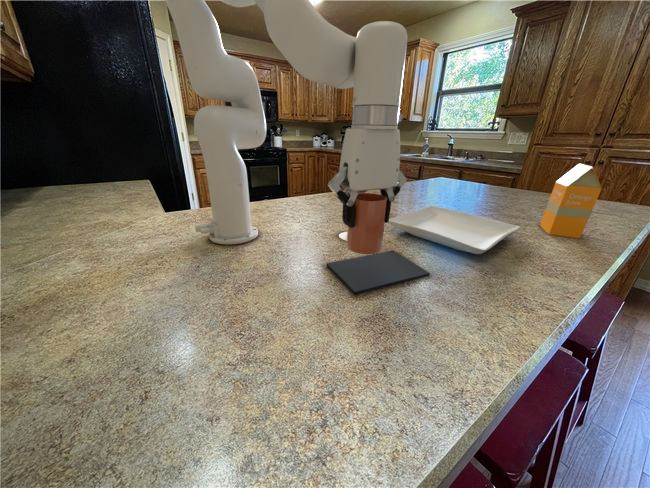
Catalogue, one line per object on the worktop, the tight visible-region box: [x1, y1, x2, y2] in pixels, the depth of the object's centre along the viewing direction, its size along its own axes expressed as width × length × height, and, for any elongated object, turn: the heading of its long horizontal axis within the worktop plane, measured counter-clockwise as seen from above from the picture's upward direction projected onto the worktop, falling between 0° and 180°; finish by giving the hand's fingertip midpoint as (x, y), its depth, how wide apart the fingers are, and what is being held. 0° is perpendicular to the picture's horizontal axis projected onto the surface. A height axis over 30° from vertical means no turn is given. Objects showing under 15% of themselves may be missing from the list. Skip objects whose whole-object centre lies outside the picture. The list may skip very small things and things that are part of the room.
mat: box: [326, 250, 431, 295], centre depth 57 cm, size 18×12×1 cm, turn 115°
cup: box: [346, 192, 387, 255], centre depth 51 cm, size 7×7×10 cm
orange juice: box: [539, 162, 603, 239], centre depth 79 cm, size 8×9×20 cm
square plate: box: [388, 205, 522, 255], centre depth 77 cm, size 27×27×4 cm
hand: (366, 222), depth 51 cm, fingers closed on cup, 6 cm apart
